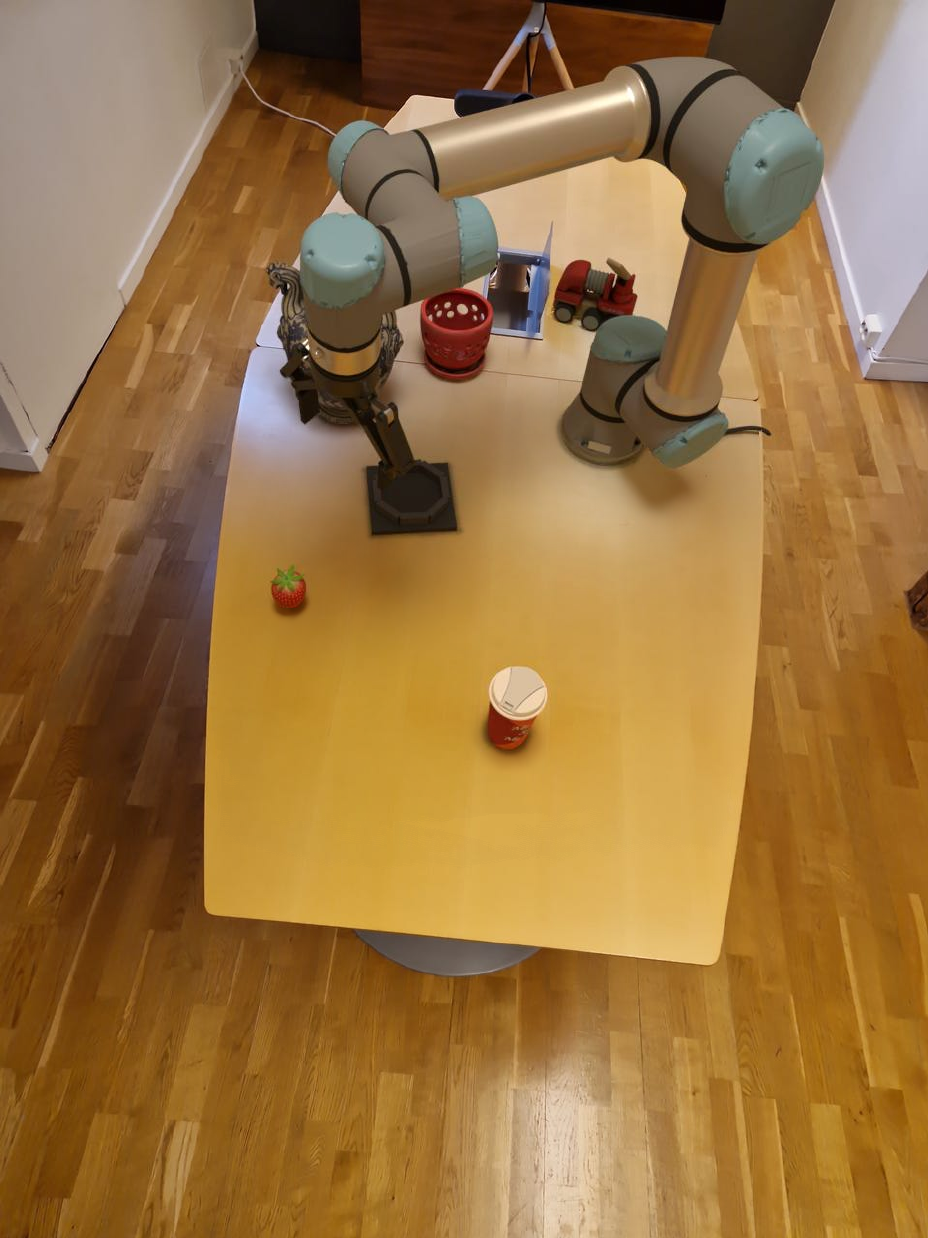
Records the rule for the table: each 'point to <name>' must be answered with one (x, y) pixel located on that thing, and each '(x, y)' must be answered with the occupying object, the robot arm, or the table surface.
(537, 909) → the table surface
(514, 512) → the table surface
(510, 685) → the paper cup
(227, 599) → the table surface
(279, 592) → the fruit
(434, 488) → the pad
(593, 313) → the toy fire truck
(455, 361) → the plant pot
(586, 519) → the table surface
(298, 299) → the decorative vase
